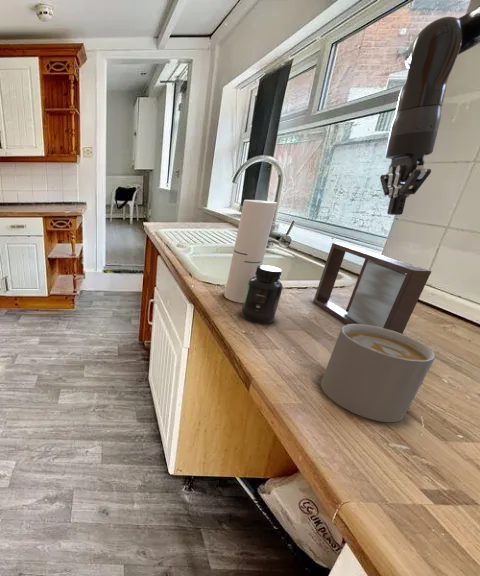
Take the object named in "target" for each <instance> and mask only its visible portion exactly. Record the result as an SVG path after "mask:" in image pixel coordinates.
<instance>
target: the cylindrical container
mask: <svg viewBox="0 0 480 576" xmlns="http://www.w3.org/2000/svg"><path fill="white" fill-rule="evenodd" d="M277 207H278V202H277V201H271V200H259V199H244V200H243V204H242V209H241V213H240V218H239V224H238V228H237V233H236V238H235V242H234V243H235V244H234V247H233V252H232V256H231V260H230V261H231V262H230V266H229V271H228V276H227V281H226V285H225V290H224V294H223V295H224V297H225V298H226V299H228V301H229V300H230V301H232V302H235V303H239V304H243V303H244V298H245V294H246V290H247V286H248V282H249V280H250V279H251V278H252V277H255V276H256V275H255V273H256V270H257V266H260V265H263V262H264V258H265V255H266V251H267V247H268V242H269V238H270V234H271V230H272V227H273V222H274V218H275V214H276V209H277Z"/></svg>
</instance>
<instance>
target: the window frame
mask: <svg viewBox="0 0 480 576" xmlns="http://www.w3.org/2000/svg"><path fill="white" fill-rule="evenodd" d="M346 253H349V254H350V255H354V256H357V257H358V258H362V259H364V260H365V259H367V260H370V261H368V262H367V264H366V267H365V270H364V272H363V275H362V277H361V280H360V283H359V285H358V288H357V291H356V293H355V296H354V298H353V301H352V304H351V306H350V309H349V312H346V309H344V308H342V307H340V306H339V305H338V304H336V303H334V302H333V301H331V300H330V298H331V295H332V292H333V289H334V287H335V283H336V282H337V278H338V275H339V272H340V270H341V267H342V265H343V264H342V263H343V261H344V258H345V256H346ZM371 261H373V262H371ZM374 262H376V263H378V264H376V263H374ZM379 264H381V265H379ZM382 265H384V266H382ZM385 266H387V267H389V268H387V267H385ZM390 268H392V269H390ZM393 269H395V270H393ZM396 270H398V271H400V272H398V271H396ZM401 272H403V273H401ZM404 273H405V274H404ZM431 273H432V270H429V269H426V268H424V267H420V266H417V265H414V264H410V263H407V262H405V261H401V260H398V259H395V258H392V257H389V256H386V255H383V254H380V253H377V252H374V251H370V250H367V249H365V248H362V247H358V246H355V245H352V244H349V243H347V242H332V243H331V247H330V249H329V253H328V255H327V259H326V262H325V264H324V268H323V271H322V273H321V277H320V279H319V283H318V285H317V289H316V291H315V295H314V298H313V303H314V304H316V305H317V306H319V307H321V308H322V309H324V310H325V311H327V312H328V313H329V314H331V315H333V316H334V317H335V318H337V319H339V320H340V321H341V322H342V323H344V324H345V325H348V324H364V325H371V326H376V327H381V328H384V329H388V330H392V331H395V332H398V333H400V334H403V335H404V331H405V330H406V327H407V325H408V323H409V320H410V319H411V316H412V314H413V312H414V310H415V308H416V306H417V303H418V301H419V299H420V298H421V295H422V293H423V290H424V288H425V286H426V284H427V283H428V280H429V278H430V276H431Z"/></svg>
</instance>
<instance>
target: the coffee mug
mask: <svg viewBox="0 0 480 576" xmlns="http://www.w3.org/2000/svg"><path fill="white" fill-rule="evenodd" d="M435 359H436V354H435V353H434V351H433V350H432V349H431V348H430V347H429V346H427V344H424V343H422V342H421V341H418V340H417V339H415V338H413V337H411V336H408V335H407V334H406V335H405V334H404V333H403V334H400V333H398V332H395V331H392V330H388V329H384V328H381V327H376V326H371V325H364V324H348V325H347V324H345V325H343V326H342V327H341V329H340V331H339V334H338V336H337V339H336V341H335V344H334V346H333V349H332V352H331V355H330V357H329V360H328V362H327V364H326V367H325V370H324V373H323V375H322V378H321V381H320V387H321V389H322V391H323V393H324V394H325V395H326V396H327V397H328V398H329V399H330V400H331V401H332V402H334V403H336V404H337V405H338V406H340V407H341V408H343V409H345V410H347V411H349V412H350V413H353V414H354V415H358V416H360V417H363V418H365V419H369V420H371V421H376V422H382V423H398V422H400V421H402V420H403V419H404V417H405V416H406V414H407V412H408V410H409V408H410V406H411V405H412V403H413V401H414V400H415V396H416V395H417V393H418V391H419V389H420V387H421V385H422V383H423V381H424V379H425V378H426V376H427V374H428V372H429V371H430V368H431V366H432V364H433V363H434V361H435Z"/></svg>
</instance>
